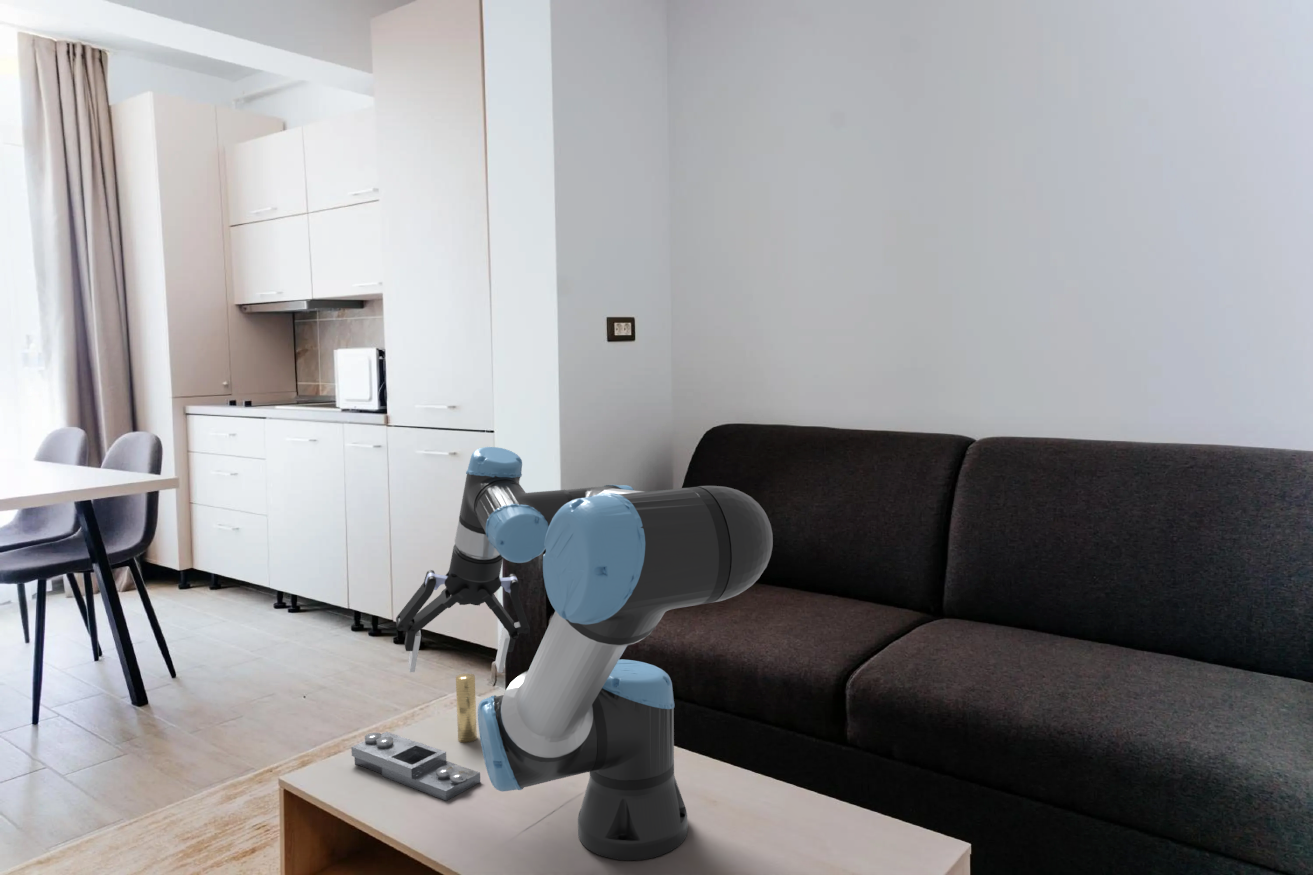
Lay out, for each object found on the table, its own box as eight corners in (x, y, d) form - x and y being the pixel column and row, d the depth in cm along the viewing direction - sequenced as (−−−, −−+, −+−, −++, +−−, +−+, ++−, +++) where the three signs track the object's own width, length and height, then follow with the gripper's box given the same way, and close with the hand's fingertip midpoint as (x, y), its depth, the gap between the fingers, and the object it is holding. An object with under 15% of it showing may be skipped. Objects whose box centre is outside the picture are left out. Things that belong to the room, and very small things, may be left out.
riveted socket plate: (481, 782, 136) (481, 758, 135) (447, 801, 130) (446, 776, 130) (386, 748, 148) (385, 726, 148) (350, 764, 143) (349, 741, 142)
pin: (479, 739, 151) (477, 677, 150) (462, 744, 150) (460, 681, 149) (472, 733, 154) (470, 672, 153) (455, 737, 152) (452, 676, 151)
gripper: (554, 540, 139) (529, 653, 145) (391, 530, 129) (372, 651, 136) (565, 564, 132) (538, 681, 139) (394, 555, 123) (373, 681, 129)
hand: (455, 667), depth 137 cm, fingers open, 13 cm apart
